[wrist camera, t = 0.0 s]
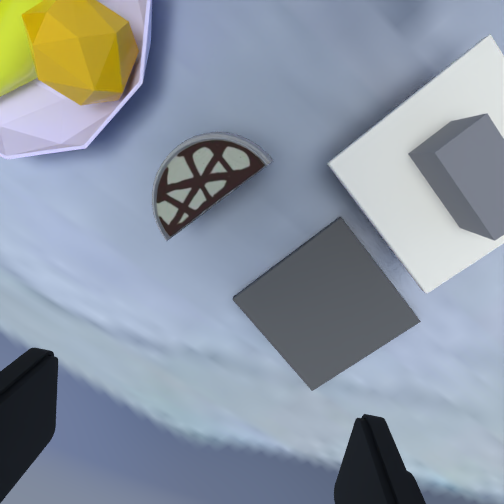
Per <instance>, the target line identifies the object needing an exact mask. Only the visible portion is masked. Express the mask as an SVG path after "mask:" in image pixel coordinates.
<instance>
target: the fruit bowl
mask: <svg viewBox="0 0 504 504" xmlns="http://www.w3.org/2000/svg"><path fill="white" fill-rule="evenodd" d="M151 22H152V0H0V156H1V157H3V158H5V159H13V158H20V157H27V156H34V155H42V154H49V153H56V152H63V151H70V150H78V149H85V148H87V147H88V145H89V144H90V143H91V142H92V141H93V140H94V139H95V138H96V136H97V135H98V134H99V133H100V132H101V131H102V130H103V128H104V127H105V126H106V125H107V124H108V123H109V122H110V121H111V119H112V118H113V117H114V116H115V115H116V114H117V113H118V112H119V110H120V109H121V108H122V107H123V106H124V105H125V103H126V102H127V101H128V100H129V99H130V98H131V96H132V95H133V94H134V93H135V92H136V91H137V89H138V88H139V87H140V86H141V85H142V84H143V79H144V74H145V69H146V64H147V59H148V54H149V49H150V44H151Z"/></svg>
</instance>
